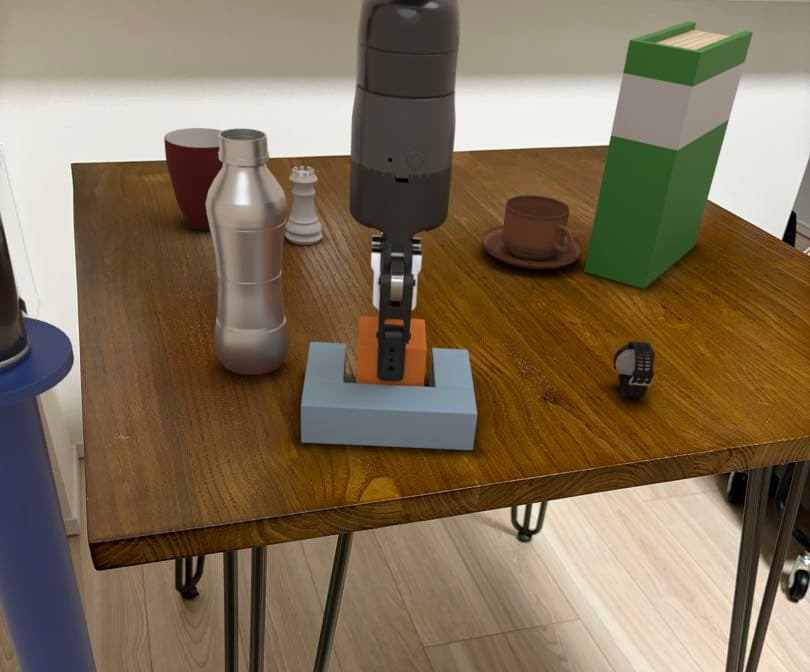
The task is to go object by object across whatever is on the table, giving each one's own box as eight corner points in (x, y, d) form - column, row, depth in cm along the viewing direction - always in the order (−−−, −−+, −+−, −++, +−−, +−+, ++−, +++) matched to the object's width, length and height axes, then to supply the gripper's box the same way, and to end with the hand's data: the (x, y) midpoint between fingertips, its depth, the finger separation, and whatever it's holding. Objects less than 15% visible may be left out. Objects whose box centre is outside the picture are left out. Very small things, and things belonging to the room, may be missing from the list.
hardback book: (639, 231, 117) (688, 21, 101) (694, 246, 114) (752, 31, 99) (584, 271, 105) (629, 40, 90) (643, 288, 102) (701, 52, 87)
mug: (179, 205, 113) (171, 120, 107) (243, 207, 114) (239, 123, 108) (168, 236, 105) (159, 146, 99) (238, 238, 106) (233, 149, 100)
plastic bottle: (209, 354, 83) (190, 124, 71) (280, 346, 85) (274, 121, 73) (224, 388, 78) (206, 148, 66) (299, 378, 81) (296, 144, 68)
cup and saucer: (596, 257, 108) (606, 205, 105) (552, 287, 100) (562, 233, 97) (509, 232, 113) (516, 181, 109) (461, 259, 105) (466, 206, 101)
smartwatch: (654, 388, 84) (667, 339, 80) (643, 413, 80) (656, 363, 77) (611, 377, 85) (622, 328, 82) (598, 401, 81) (609, 351, 78)
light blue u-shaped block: (301, 442, 73) (300, 405, 70) (310, 376, 81) (310, 341, 79) (472, 450, 73) (477, 413, 71) (463, 384, 82) (468, 349, 80)
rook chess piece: (283, 245, 105) (282, 174, 100) (286, 231, 109) (284, 162, 104) (321, 246, 105) (322, 176, 100) (323, 233, 109) (323, 164, 104)
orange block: (356, 384, 74) (357, 345, 72) (358, 352, 79) (359, 315, 77) (423, 387, 75) (426, 349, 73) (421, 355, 79) (424, 318, 77)
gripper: (353, 124, 71) (348, 322, 82) (347, 181, 60) (342, 402, 71) (447, 130, 72) (430, 326, 82) (458, 188, 60) (437, 407, 71)
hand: (390, 360), depth 76 cm, fingers closed on orange block, 5 cm apart
